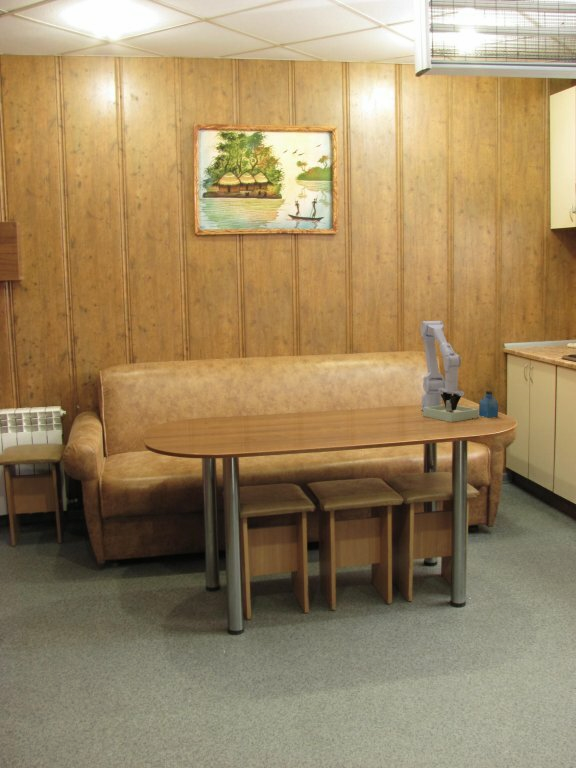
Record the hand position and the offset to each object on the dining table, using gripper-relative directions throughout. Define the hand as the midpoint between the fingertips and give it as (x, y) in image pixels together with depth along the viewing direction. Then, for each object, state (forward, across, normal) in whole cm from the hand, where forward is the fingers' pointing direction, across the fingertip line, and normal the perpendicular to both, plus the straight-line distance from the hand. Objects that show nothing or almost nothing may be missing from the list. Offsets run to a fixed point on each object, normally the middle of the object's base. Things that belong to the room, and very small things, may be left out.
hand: (450, 409), depth 379 cm
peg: (+2, 0, 0) cm, 2 cm away
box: (+4, 0, 0) cm, 4 cm away
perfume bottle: (+4, +9, +16) cm, 19 cm away
